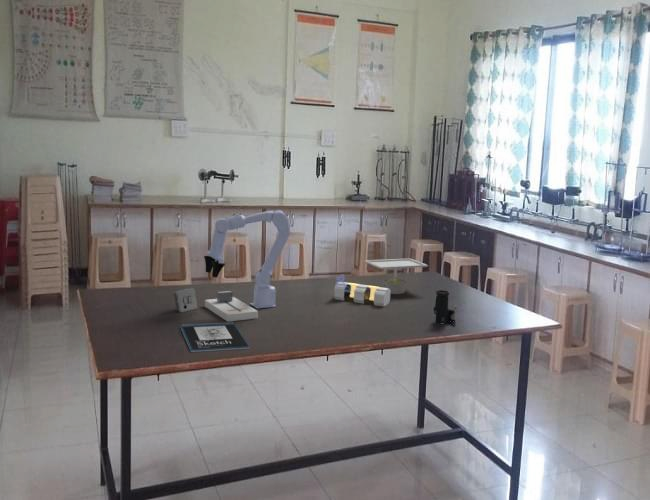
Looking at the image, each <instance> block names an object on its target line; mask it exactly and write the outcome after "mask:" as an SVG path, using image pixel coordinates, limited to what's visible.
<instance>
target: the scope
mask: <svg viewBox="0 0 650 500" xmlns="http://www.w3.org/2000/svg"><path fill="white" fill-rule="evenodd" d="M435 293H436V296H435V303H434V305H435V306H434V307H433V313H434V315H435V324H438V323H445V322H447V323H449V322H448V321H451V322H453V321H454V322H453V323H456V320H457V318H458V315H457V305H454V309H450V308H449V296H450V292H449V291H448V290H444V289H443V290H437V291H436V292H435ZM451 322H450V323H451ZM445 324H446V323H445Z"/></svg>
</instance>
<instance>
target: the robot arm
mask: <svg viewBox="0 0 650 500" xmlns="http://www.w3.org/2000/svg"><path fill="white" fill-rule="evenodd" d="M258 222H267V223H269V224H271V223H272V224H273V225H274V226H275V228H276V229H277V232H278V234H277V236H276V237H275V240H274V242H273V244H272V245H271V248H270V250H269V253H268V254H267V256H266V258H265V259H264V263H263V264H262V265H261V267H260V268H259V270H258V271H257V272H255V274H254V279H255V284H254V285H253V302H249V304H250V306H251V307H253V308H256V309H264V308H274V307H276V306H277V305H276V294H277V292H276V291H277V290H276V287H275V286H274V285H270V283H271V276H272V274H273V270H274V268H275V266H276V264H277V262H278V259H279V258H280V256H281V255H282V252H283V250H284V247H285V245H286V243H287V241H288V240H289V237H290V235H291V231H290V230H291V229H290V225H289V219H288V217H287V215H286V214H285V213H284V211H283V210H281V209H275V210H268V211H263V212H258V213H254V214H250V215H246V216H245V215H243V214H239V213H236V214H235V215H233V216H224V218H223V217H222V218H218V219H217V220H216V221H215V223H214V225H215V226H214V230H213V234H212V239H211V243H210V249H209V250H207V251H206V255H204V256H203V258H204V262H205V273H209V274H210V273H211V272H212V273H211V277H212V278H216V279H217V278H218V277H219V274H220V272H221V270H223V268H224V267H225V266H226V263H225V262H224V261H225V259H224V258H223V253H224V250H225V249H224V248H225V244H226V240H227V239H226V238H227V232H228V231H232V230H238V229H241V228H245V227H246V225H247V224H251V223H252V224H253V223H258Z"/></svg>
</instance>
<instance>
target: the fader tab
mask: <svg viewBox="0 0 650 500" xmlns="http://www.w3.org/2000/svg"><path fill="white" fill-rule="evenodd" d="M232 297H233V291H231V290H222V291H217V292H216V299H217V301H218V302H228V301H232Z"/></svg>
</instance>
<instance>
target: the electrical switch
mask: <svg viewBox="0 0 650 500" xmlns="http://www.w3.org/2000/svg"><path fill="white" fill-rule="evenodd" d="M173 296H174V303H175V309H176V311H177V312H180V313H185V312H189V311H193V310H197V309H198V304H197V298H196V297H197V296H196V291H195V288H194V287H191V288H186V289H181V290H177V291H176V292H174V293H173Z"/></svg>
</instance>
